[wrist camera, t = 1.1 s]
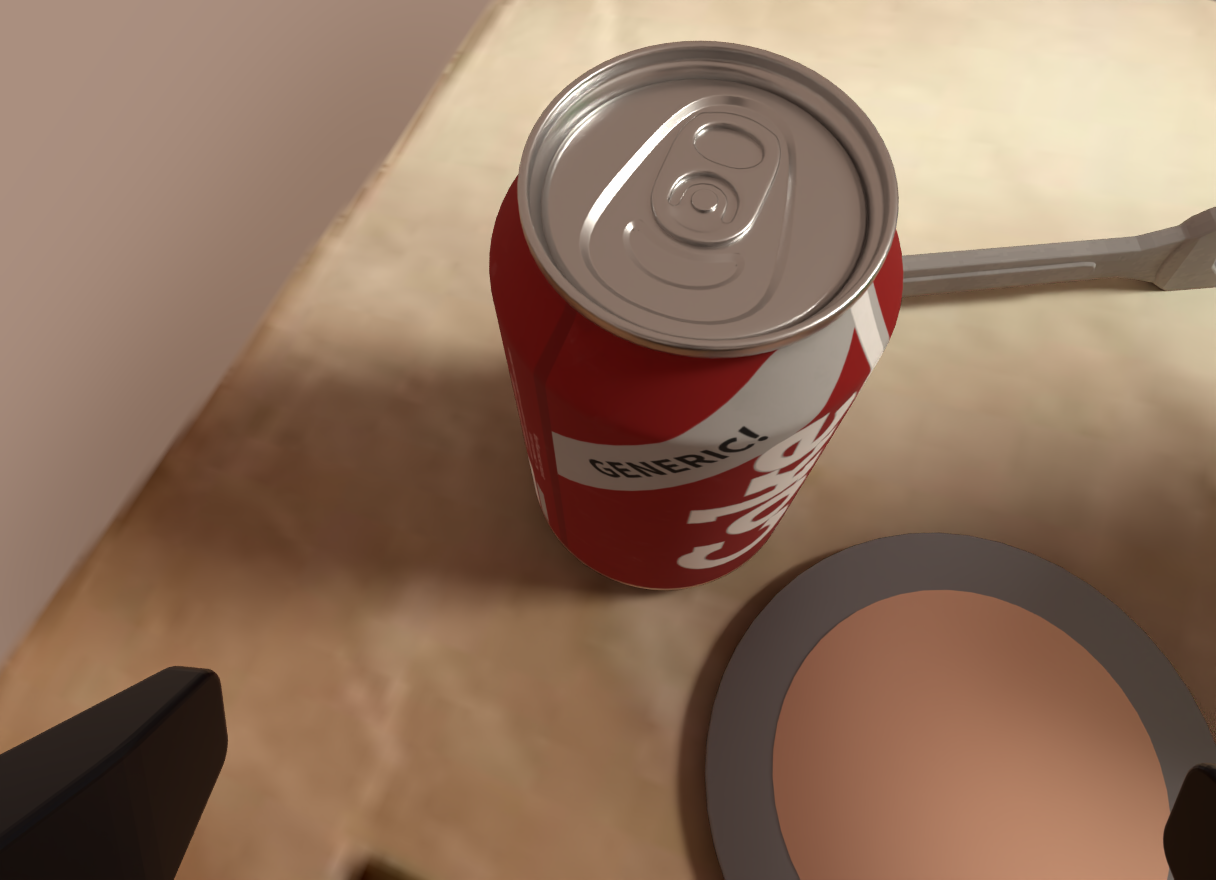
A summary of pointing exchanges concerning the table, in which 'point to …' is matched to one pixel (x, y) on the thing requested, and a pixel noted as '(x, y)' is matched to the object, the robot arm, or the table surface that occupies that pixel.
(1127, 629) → the coaster
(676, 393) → the soda can
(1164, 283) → the combination wrench
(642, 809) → the table surface
